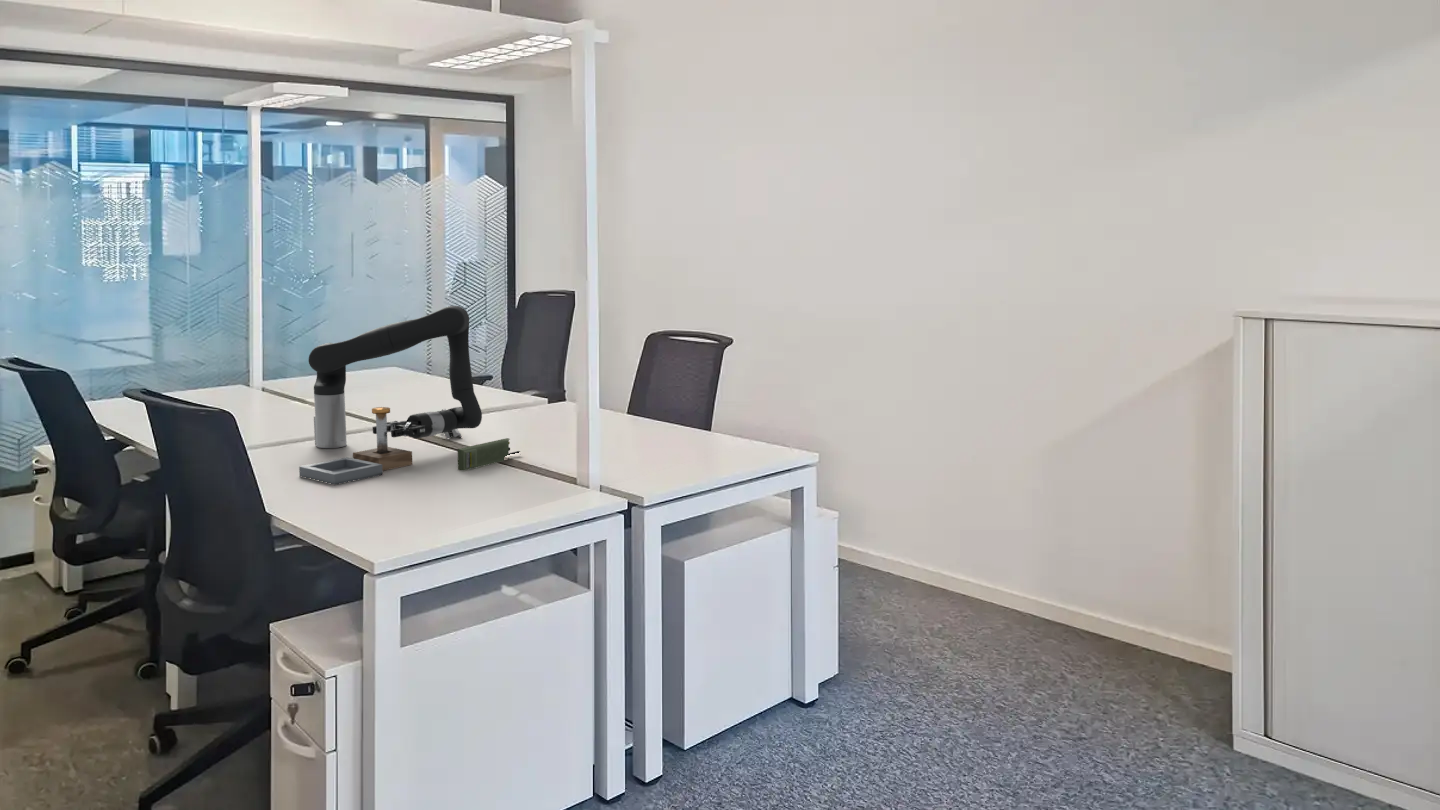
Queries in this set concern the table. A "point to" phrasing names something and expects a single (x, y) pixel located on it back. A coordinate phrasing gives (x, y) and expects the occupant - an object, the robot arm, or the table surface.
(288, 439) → the table surface
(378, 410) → the pin
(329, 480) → the tray
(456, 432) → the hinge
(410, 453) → the socket block
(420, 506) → the table surface
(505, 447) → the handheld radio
